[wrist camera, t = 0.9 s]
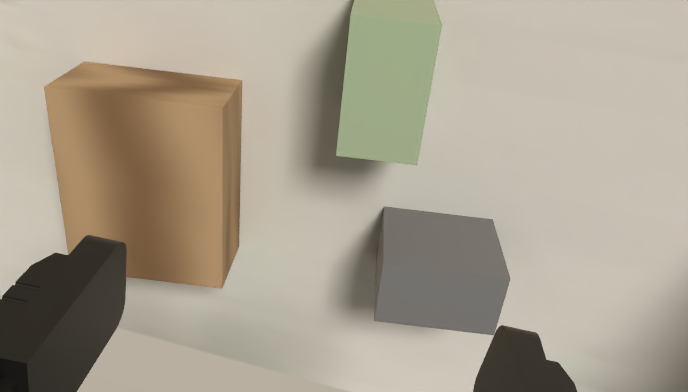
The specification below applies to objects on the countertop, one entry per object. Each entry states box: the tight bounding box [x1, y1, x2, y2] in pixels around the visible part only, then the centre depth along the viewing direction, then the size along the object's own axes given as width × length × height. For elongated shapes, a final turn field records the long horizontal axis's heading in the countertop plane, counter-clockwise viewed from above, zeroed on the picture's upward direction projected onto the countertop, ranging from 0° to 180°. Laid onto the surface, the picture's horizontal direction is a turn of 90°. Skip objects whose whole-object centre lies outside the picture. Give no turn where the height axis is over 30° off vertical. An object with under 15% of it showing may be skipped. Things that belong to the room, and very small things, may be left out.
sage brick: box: [336, 0, 442, 165], centre depth 27 cm, size 6×4×6 cm, turn 174°
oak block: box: [44, 62, 242, 288], centre depth 31 cm, size 8×10×4 cm
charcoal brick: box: [374, 207, 510, 335], centre depth 31 cm, size 6×4×6 cm, turn 84°
